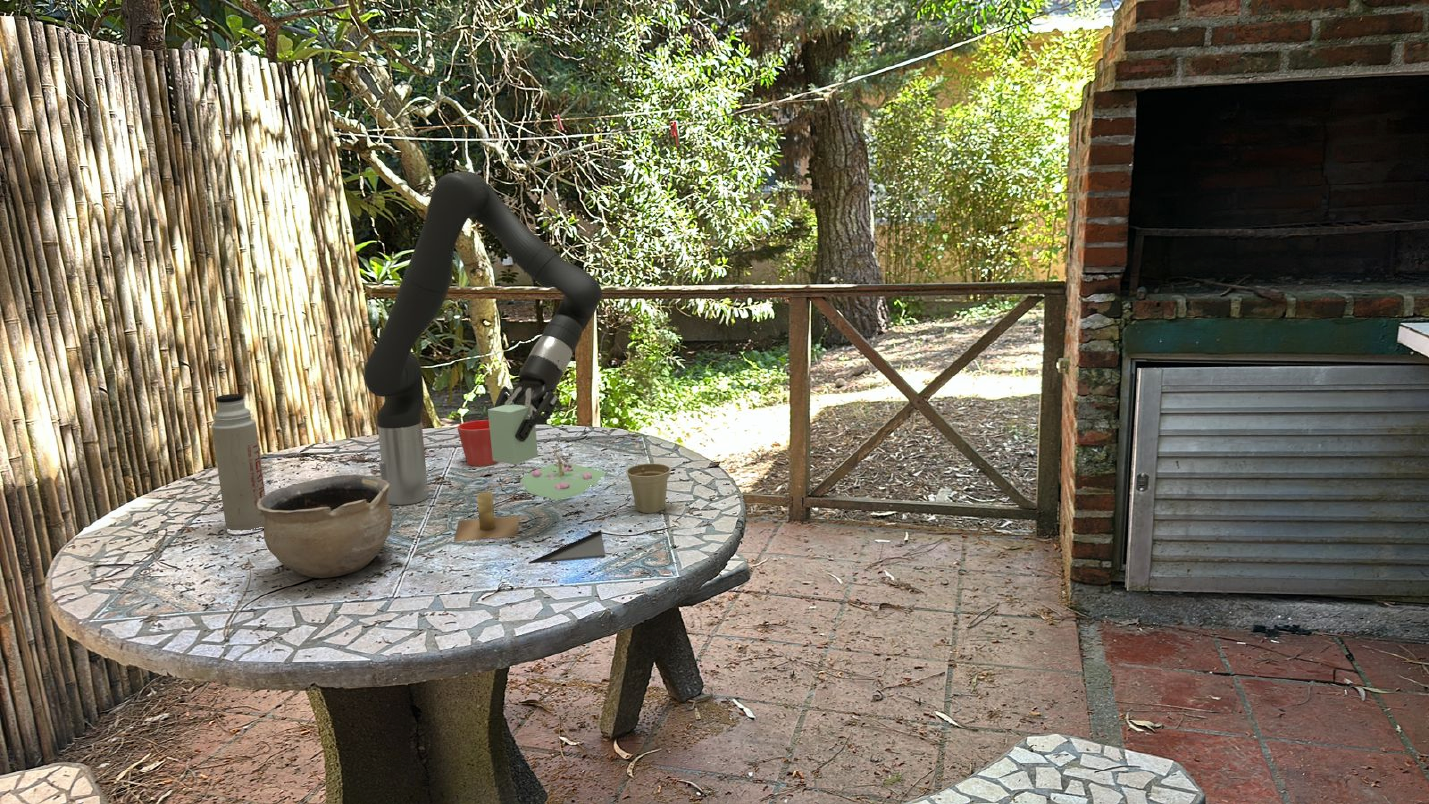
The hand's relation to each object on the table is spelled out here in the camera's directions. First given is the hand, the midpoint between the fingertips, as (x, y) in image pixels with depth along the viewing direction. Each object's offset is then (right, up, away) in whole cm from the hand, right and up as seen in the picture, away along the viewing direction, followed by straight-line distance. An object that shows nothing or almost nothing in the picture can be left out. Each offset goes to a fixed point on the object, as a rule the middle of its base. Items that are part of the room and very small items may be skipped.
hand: (507, 437), depth 185 cm
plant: (+4, -13, +41) cm, 44 cm away
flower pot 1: (-19, -9, +60) cm, 64 cm away
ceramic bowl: (-30, -24, -6) cm, 39 cm away
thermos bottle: (-57, -19, +17) cm, 62 cm away
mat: (+11, -21, +2) cm, 24 cm away
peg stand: (-6, -20, +9) cm, 22 cm away
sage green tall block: (+1, -4, +2) cm, 5 cm away
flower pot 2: (+26, -16, +22) cm, 37 cm away
